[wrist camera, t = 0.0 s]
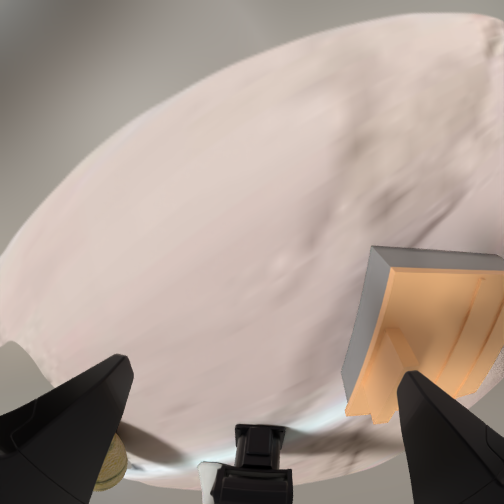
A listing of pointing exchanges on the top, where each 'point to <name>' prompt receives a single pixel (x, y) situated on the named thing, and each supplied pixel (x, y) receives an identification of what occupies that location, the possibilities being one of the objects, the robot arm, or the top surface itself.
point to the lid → (431, 335)
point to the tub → (376, 287)
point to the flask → (207, 479)
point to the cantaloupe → (112, 466)
